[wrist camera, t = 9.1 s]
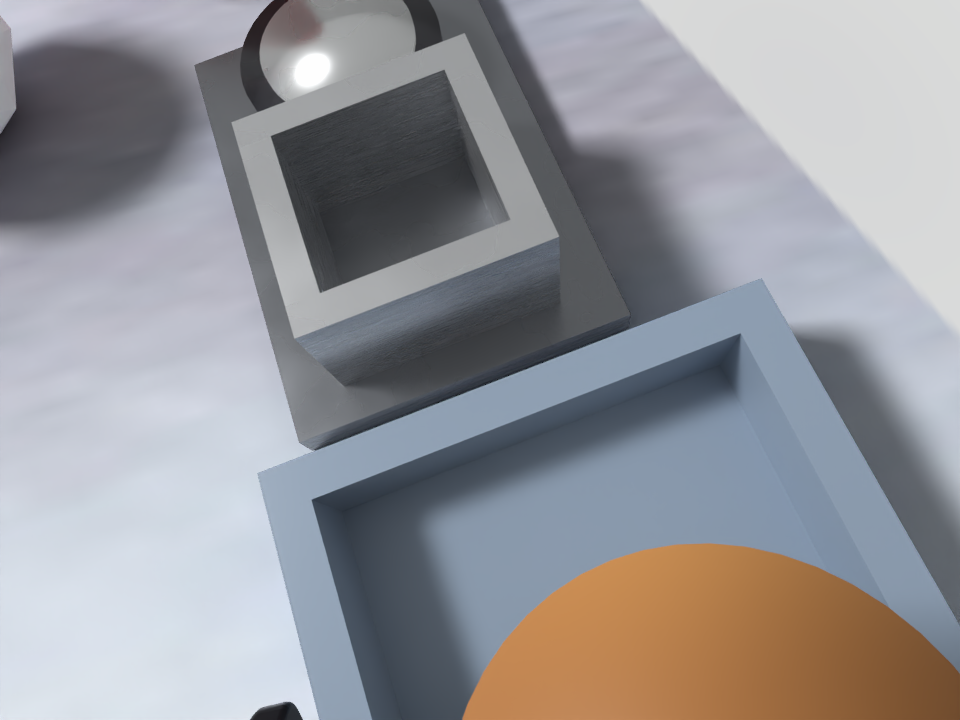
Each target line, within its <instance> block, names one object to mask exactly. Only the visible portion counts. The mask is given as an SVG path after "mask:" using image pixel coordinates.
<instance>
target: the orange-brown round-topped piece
mask: <svg viewBox="0 0 960 720" xmlns="http://www.w3.org/2000/svg"><path fill="white" fill-rule="evenodd" d="M462 720H960V673H959V672H958V671H957V670H956V668H955V667H954V666H953V665H952V664H951V663H950V662H949V661H948V660H947V659H946V658H945V657H944V656H943V655H942V654H941V653H940V652H939V651H938V650H937V649H936V648H935V647H934V646H933V645H932V644H931V643H930V642H929V641H928V640H927V639H926V638H925V637H924V636H923V635H922V634H921V633H920V632H919V631H917V630H916V629H915V628H914V627H912V626H911V625H910V624H909V623H908V622H906V621H905V620H904V619H903V618H901V617H900V616H899V615H898V614H896V613H895V612H894V611H893V610H891V609H890V608H889V607H888V606H886V605H884V604H883V603H881V602H880V601H878V600H877V599H875V598H873V597H872V596H870V595H869V594H867V593H866V592H864V591H862V590H861V589H859V588H858V587H856V586H855V585H853V584H851V583H849V582H847V581H845V580H843V579H841V578H839V577H837V576H835V575H833V574H831V573H828V572H826V571H824V570H822V569H820V568H818V567H816V566H813V565H810V564H807V563H804V562H802V561H799V560H796V559H793V558H790V557H787V556H784V555H782V554H777V553H773V552H768V551H764V550H759V549H755V548H750V547H745V546H734V545H724V544H713V543H704V544H677V545H670V546H664V547H658V548H653V549H647V550H642V551H638V552H635V553H632V554H629V555H626V556H623V557H619V558H616V559H613V560H610V561H608V562H606V563H604V564H602V565H600V566H597V567H595V568H593V569H591V570H589V571H587V572H585V573H583V574H581V575H579V576H577V577H576V578H574V579H573V580H571V581H570V582H568V583H567V584H565V585H564V586H562V587H561V588H559V589H558V590H556V591H555V592H553V593H552V594H551V595H549V596H548V597H547V598H546V599H545V600H544V601H543V602H541V603H540V604H539V605H538V606H537V607H536V608H535V609H533V610H532V611H531V612H530V613H529V614H528V615H527V616H526V617H525V618H524V619H523V620H522V621H521V622H520V624H519V625H518V626H517V627H516V628H515V629H514V630H513V632H512V633H511V634H510V635H509V636H508V637H507V638H506V640H505V641H504V642H503V643H502V645H501V646H500V648H499V649H498V651H497V652H496V654H495V655H494V657H493V658H492V660H491V661H490V663H489V664H488V666H487V667H486V669H485V670H484V672H483V674H482V676H481V678H480V680H479V682H478V684H477V686H476V688H475V690H474V692H473V694H472V696H471V698H470V700H469V702H468V704H467V707H466V710H465V713H464V716H463V719H462Z"/></svg>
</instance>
